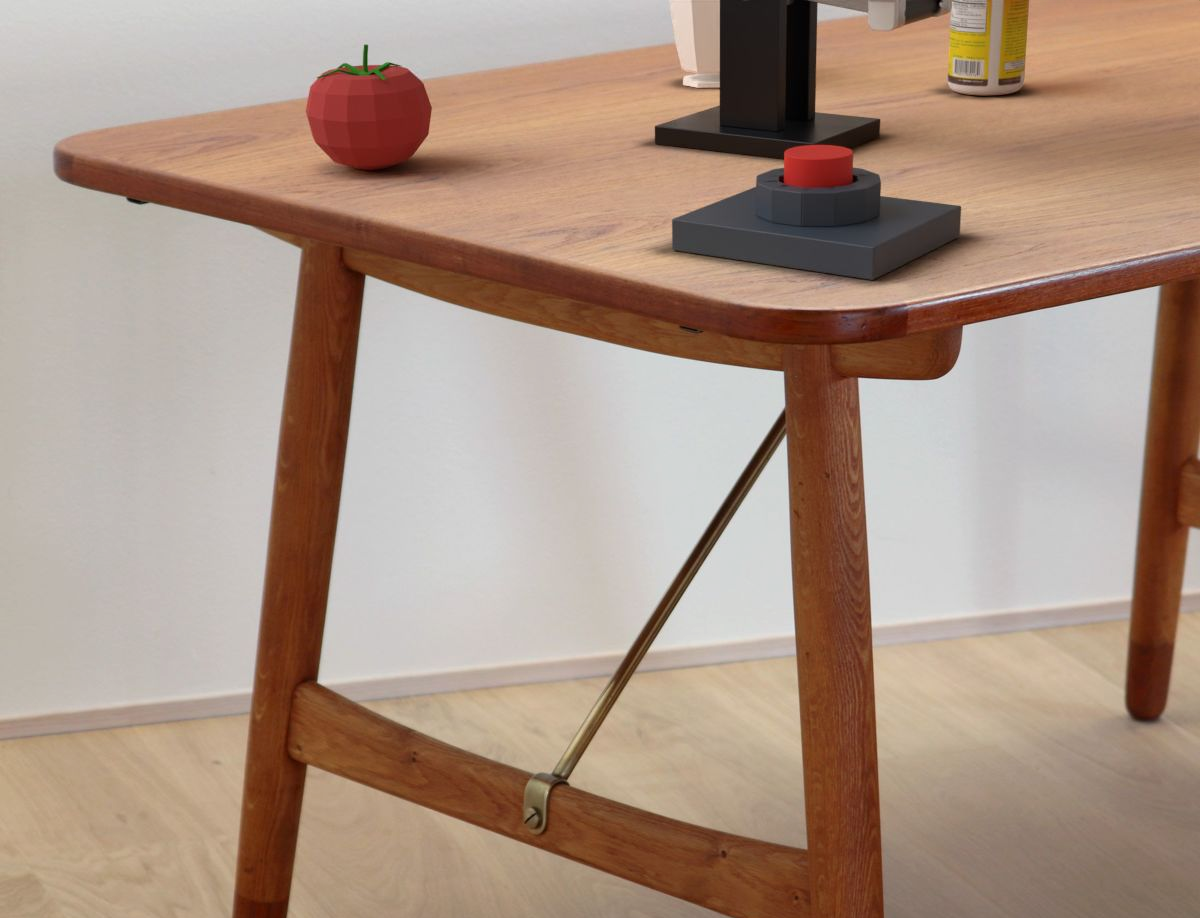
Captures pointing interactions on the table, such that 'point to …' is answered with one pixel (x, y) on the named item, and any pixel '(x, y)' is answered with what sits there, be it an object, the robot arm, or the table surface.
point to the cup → (698, 40)
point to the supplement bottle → (987, 46)
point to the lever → (917, 8)
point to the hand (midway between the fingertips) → (910, 22)
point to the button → (818, 166)
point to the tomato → (369, 114)
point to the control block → (818, 227)
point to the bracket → (766, 87)
